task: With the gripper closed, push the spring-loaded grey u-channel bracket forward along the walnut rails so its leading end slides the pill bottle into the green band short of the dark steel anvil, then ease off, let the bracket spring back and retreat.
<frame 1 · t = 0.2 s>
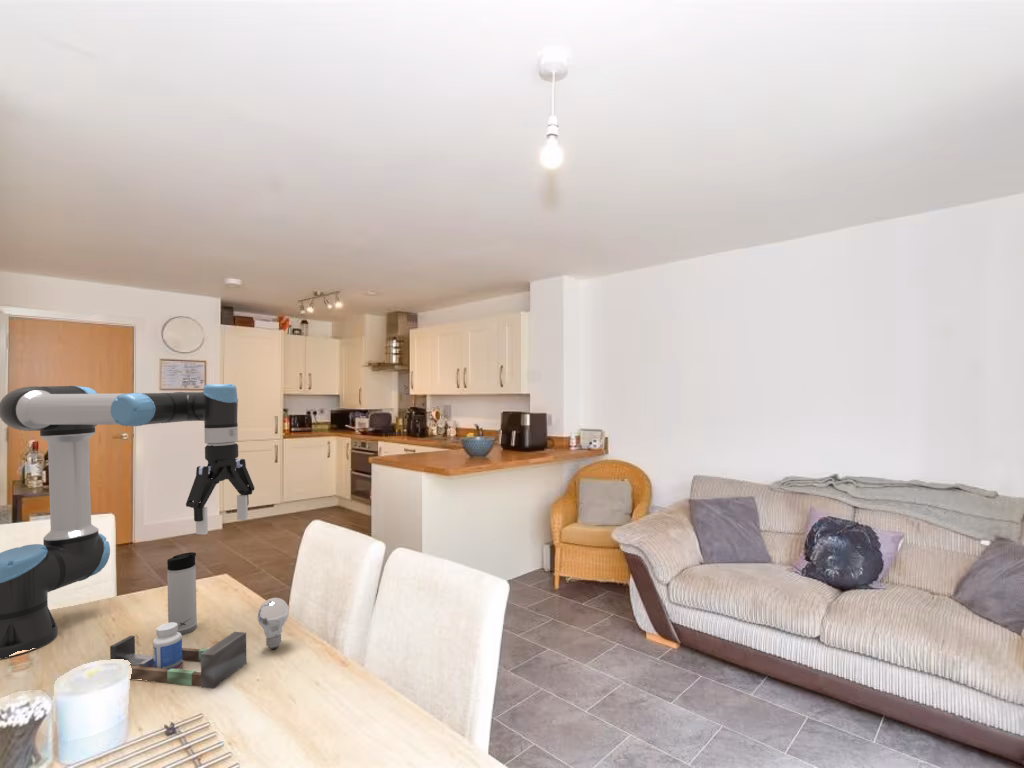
hand: (223, 526, 133), 28 cm above the table, fingers open, 13 cm apart
grey u-channel bracket: (137, 653, 118), point 3 cm above the table, slide at 0.0 cm
light bulb: (273, 649, 125), on the table
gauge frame: (183, 670, 116), on the table
pill bottle: (168, 670, 117), resting in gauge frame
travel mug: (183, 631, 136), on the table
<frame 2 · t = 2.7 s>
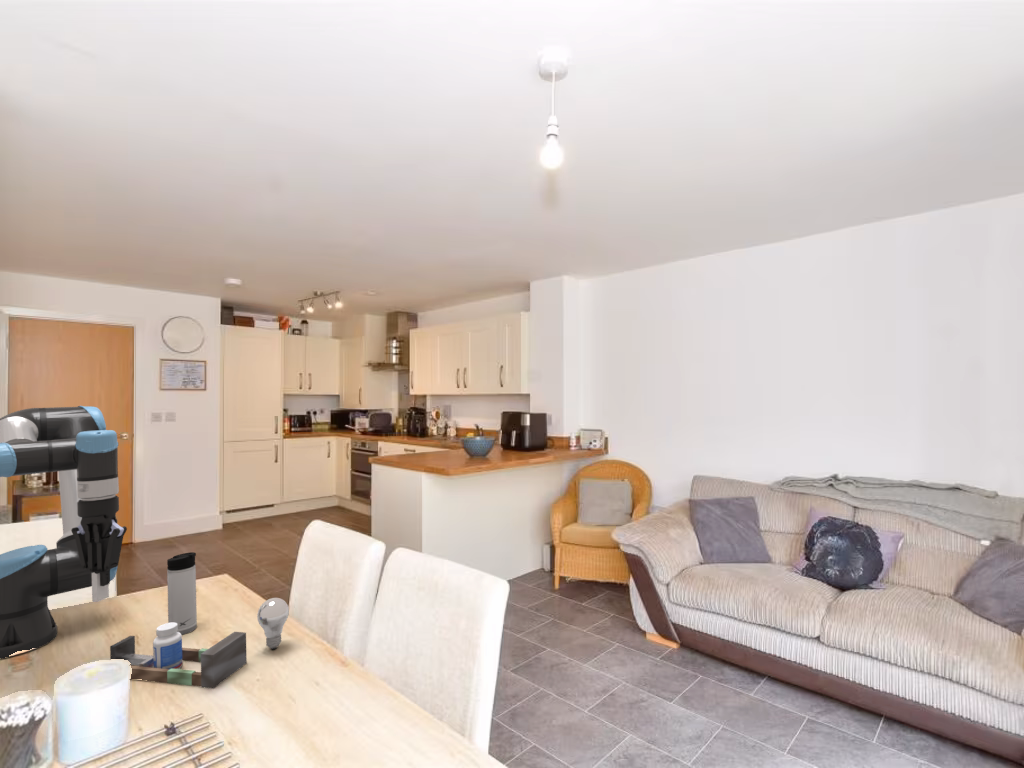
hand: (100, 599, 120), 15 cm above the table, fingers closed
nothing on the table moved.
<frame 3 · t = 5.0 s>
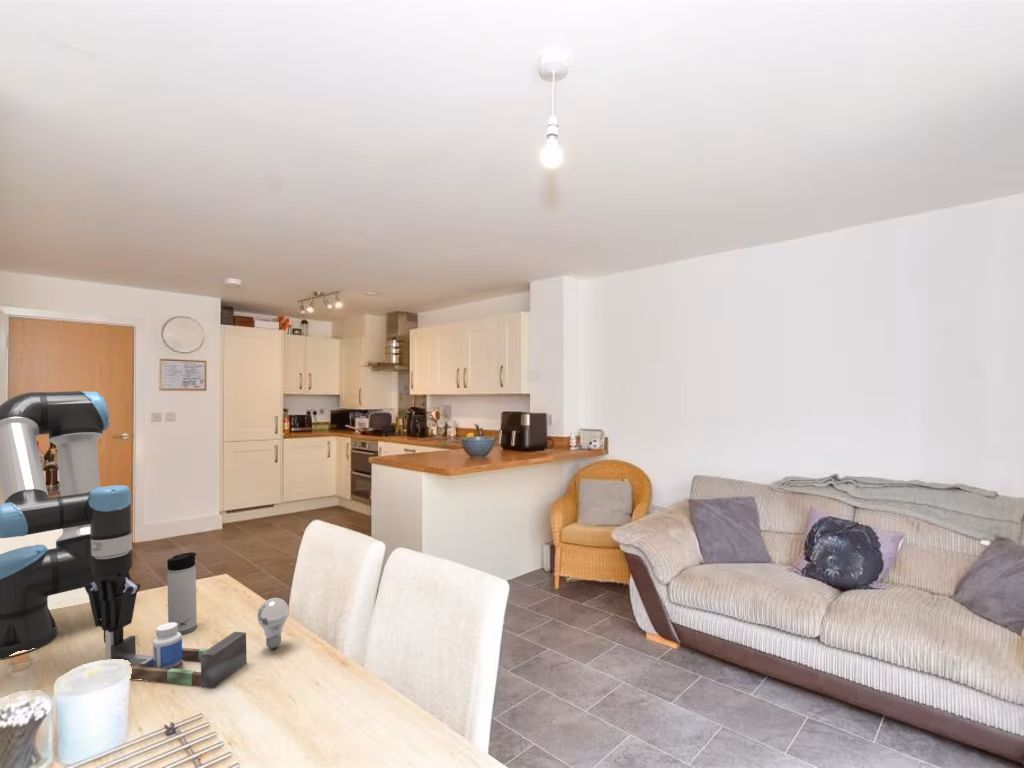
hand: (114, 656, 119), 2 cm above the table, fingers closed
grey u-channel bracket: (138, 653, 118), point 3 cm above the table, slide at 0.2 cm, touching gripper
everything else where it was.
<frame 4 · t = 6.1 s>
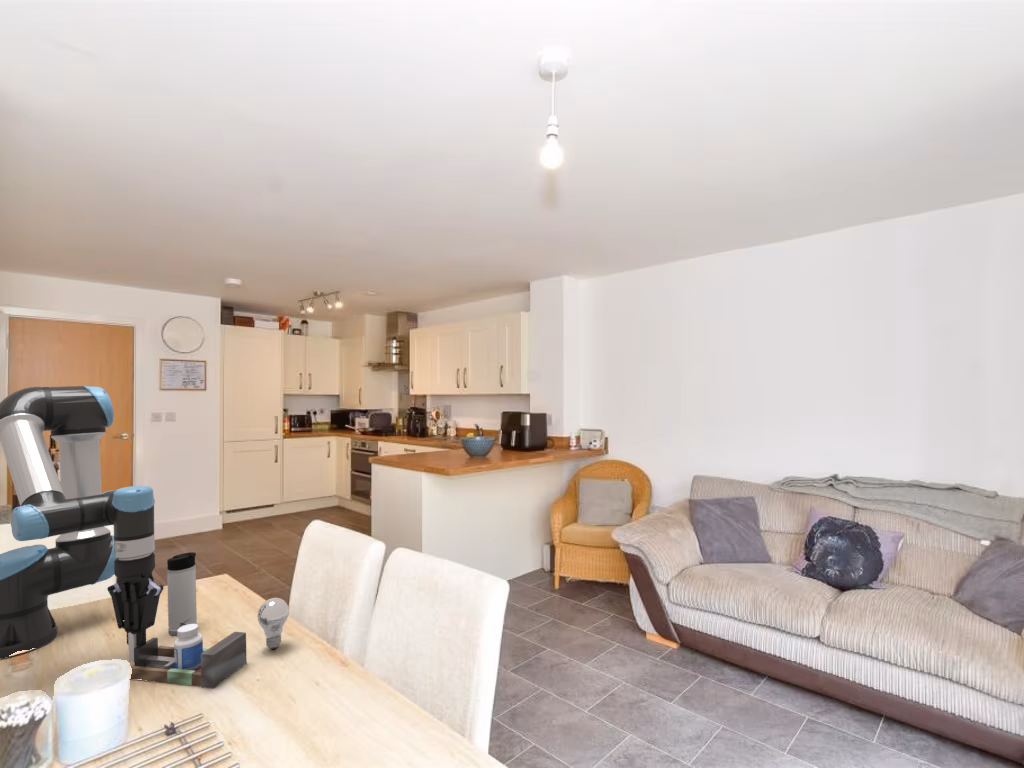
hand: (136, 658, 118), 2 cm above the table, fingers closed
grey u-channel bracket: (161, 655, 117), point 3 cm above the table, slide at 6.3 cm, touching gripper, pill bottle
pill bottle: (189, 672, 116), resting in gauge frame, touching grey u-channel bracket
everything else where it was.
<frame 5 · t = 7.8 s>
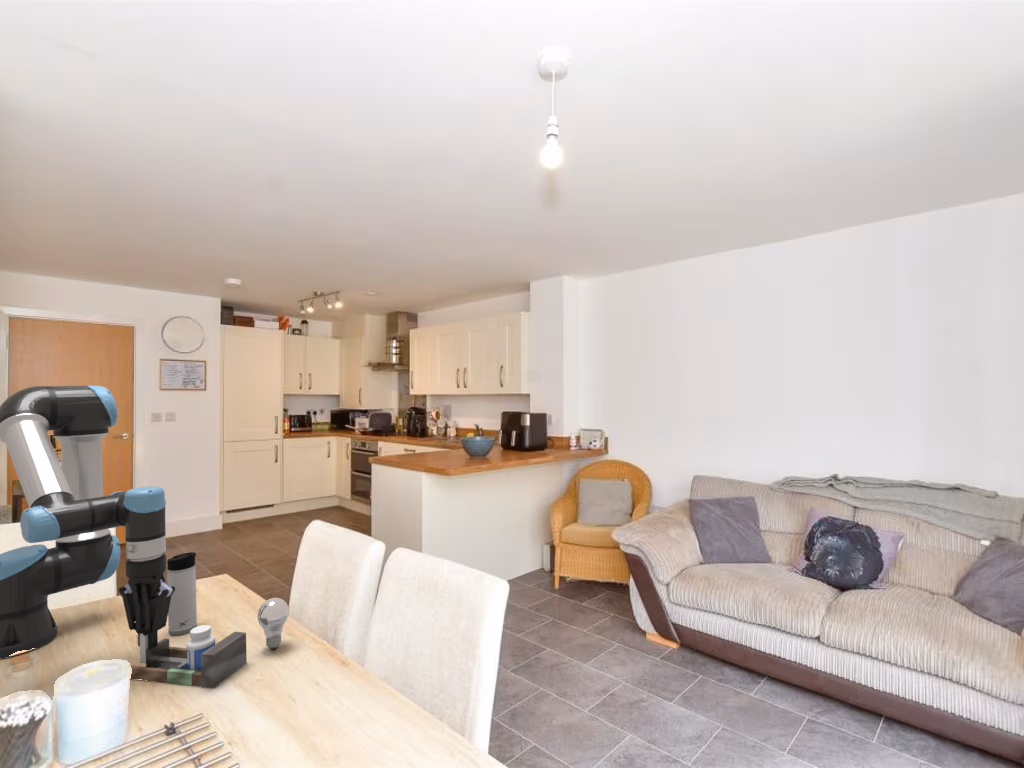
hand: (148, 660, 117), 2 cm above the table, fingers closed
grey u-channel bracket: (173, 656, 116), point 3 cm above the table, slide at 9.4 cm, touching gripper
pill bottle: (201, 673, 115), resting in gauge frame
everything else where it was.
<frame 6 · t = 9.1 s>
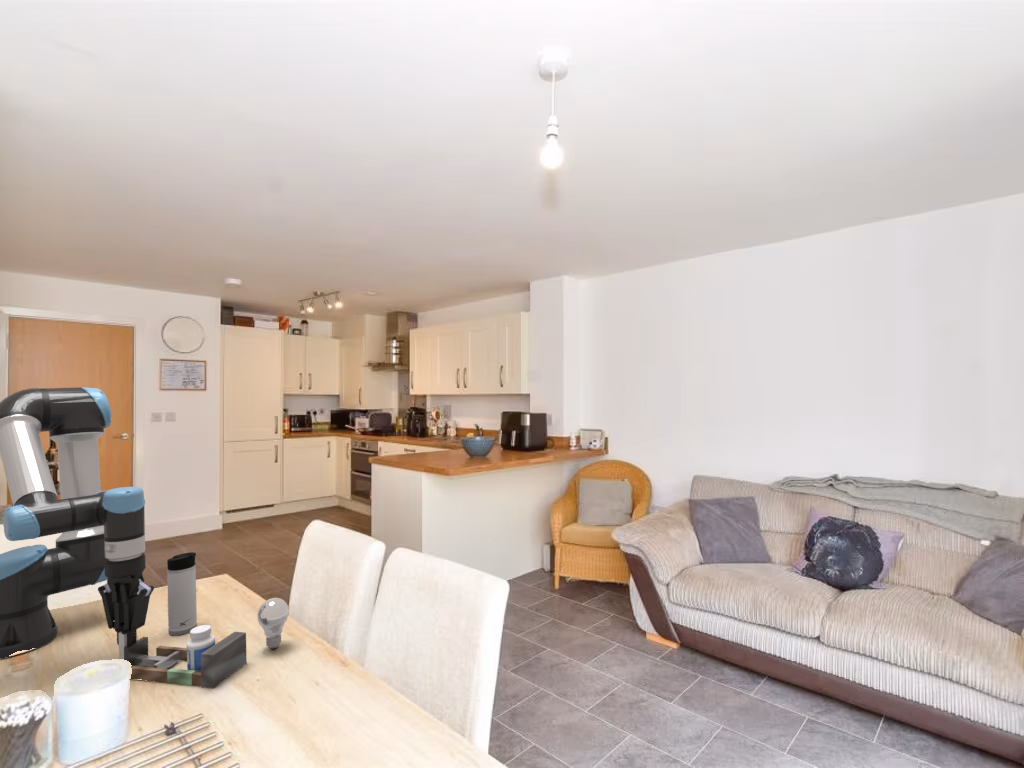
hand: (127, 658, 119), 2 cm above the table, fingers closed
grey u-channel bracket: (151, 654, 117), point 3 cm above the table, slide at 3.7 cm, touching gripper
everything else where it was.
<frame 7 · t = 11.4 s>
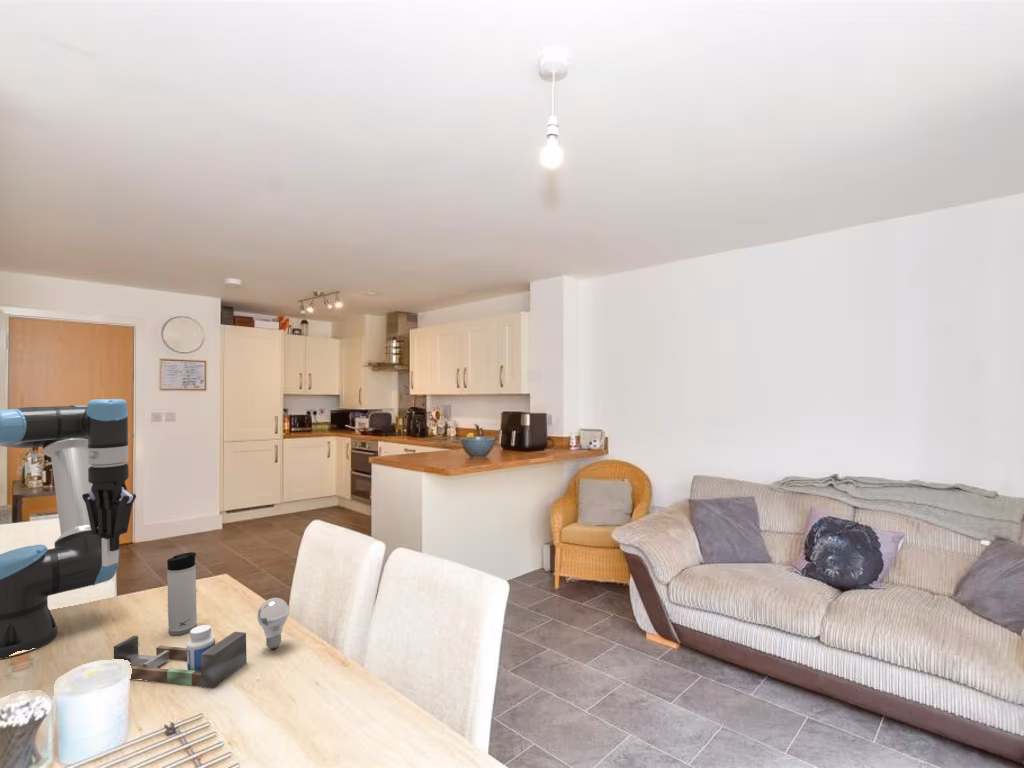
hand: (110, 564, 122), 22 cm above the table, fingers closed
grey u-channel bracket: (141, 653, 118), point 3 cm above the table, slide at 0.9 cm
everything else where it was.
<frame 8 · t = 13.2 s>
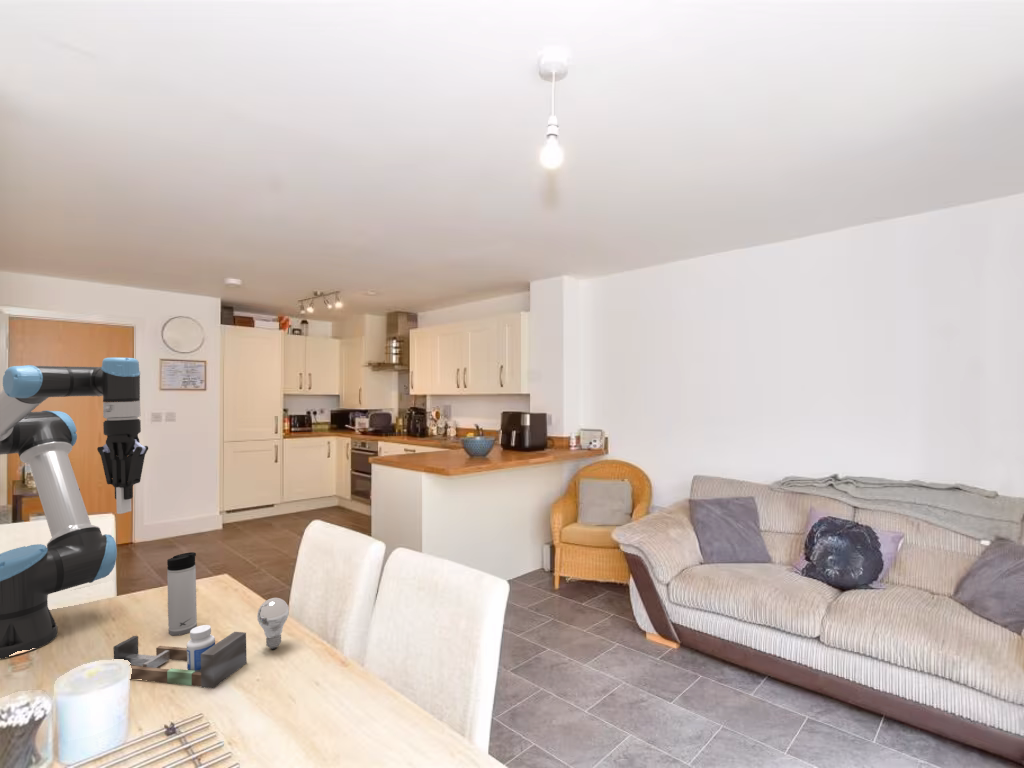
hand: (124, 512, 131), 32 cm above the table, fingers closed
nothing on the table moved.
at the end: pill bottle inside the target area (1.2 cm from its centre), resting in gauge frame; pill bottle tilted 0°; grey u-channel bracket slide at 0.9 cm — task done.
